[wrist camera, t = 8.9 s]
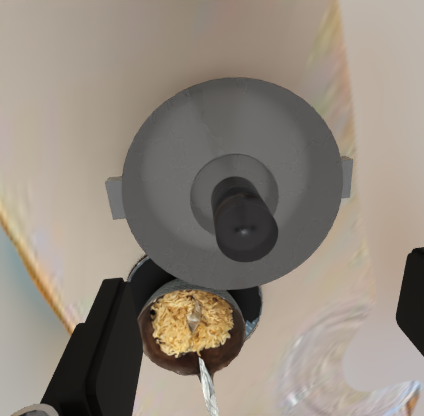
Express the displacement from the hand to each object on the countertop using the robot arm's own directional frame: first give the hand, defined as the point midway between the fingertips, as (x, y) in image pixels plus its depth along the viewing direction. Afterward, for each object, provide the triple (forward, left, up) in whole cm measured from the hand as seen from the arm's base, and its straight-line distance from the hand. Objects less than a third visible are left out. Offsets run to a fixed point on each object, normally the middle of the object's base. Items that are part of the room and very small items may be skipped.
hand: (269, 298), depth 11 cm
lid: (0, 0, -13) cm, 13 cm away
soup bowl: (+16, -4, -21) cm, 26 cm away
